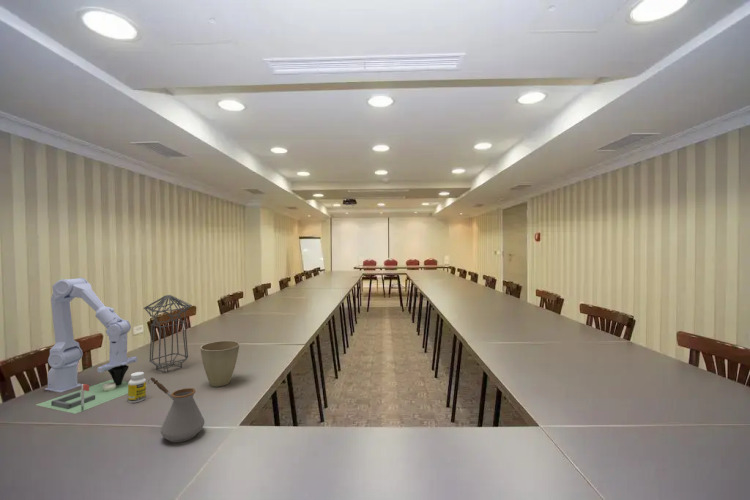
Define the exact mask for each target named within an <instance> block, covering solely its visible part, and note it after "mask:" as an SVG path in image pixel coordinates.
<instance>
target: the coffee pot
mask: <svg viewBox="0 0 750 500" xmlns="http://www.w3.org/2000/svg"><path fill="white" fill-rule="evenodd" d="M150 380H151V382H150ZM147 383H148V384H154V385H156V387H157V388H158V389H159V390H161V391H162V392H163V393H164V394H166V395H167V396H168V397H169V398H170V399H171V400H172V403H171V406H170V408H169V411H168V413H167V415H166V417H165V419H164V421H163V423H162V426H161V428H160V434H161V436H162V437H163V438H164V439H166V441H167V440H168V441H169V442H170V443H181V442H186V441H189V440H192V439H193V438H194V437H196V436H197V434H199V432H201V431H202V429H203V427H204V426H205V419H204V417H203V415H202V412H201V411H200V409H199V407H198V405H197V403H196V400H195V399H194V394H195V393H196V392H197V391H196V389H195V388H194V387H191V388H190V387H189V388H188V387H186V388H182V389H177V390H175V391H173V392H172V393H171V392H170V391H169V390H168V388H166V386H164V385H163V384H162V383H161V382H160V381H159V380H157V379H156V378H155V377H150V378H149V379H148V381H147Z"/></svg>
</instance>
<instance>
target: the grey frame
mask: <svg viewBox="0 0 750 500" xmlns="http://www.w3.org/2000/svg"><path fill="white" fill-rule="evenodd" d="M80 384H81V386H80V387H81V389H80V390H81V399H80V400H78V401H75V402H72V403H66V401H69V400H72V399H75V398H77V397H80V392H77V393H75V394H72V395H69V396H66V397H63V398H60V399H57V400H54V401H51V406H56V407H61V408H65V409H70V408H73V407H76V406H78V405H81V412H83V410H84V403H87V402H89V401H92V400H95V395H92V396H89V397H86V398H84V390H85V391H89V387H90V385H89V384H85V383H80ZM84 411H85V410H84Z"/></svg>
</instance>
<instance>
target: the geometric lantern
mask: <svg viewBox="0 0 750 500" xmlns="http://www.w3.org/2000/svg"><path fill="white" fill-rule="evenodd" d="M154 304H155V305H154ZM152 305H154V306H152ZM173 305H174V307H175V308H174V309H172V306H173ZM192 306H193V305H192V304H191V303H188V302H186V301H184V300H181V299H180V298H177V297H176V296H174V295H171V294H167V295H163V296H162V297H160V298H158V299H157V300H155V301H153V302H151V303H149V304H148V305H146V306H144V307H143V309H144V310H145V311H146V312H147V314H148V315H149V317H152V318H153V319H154V320H152V323H151V324H150V341H149V342H150V343H149V344H150V345H149V347H150V348H149V363H151V364H153V365H154V366H155V370H156V371H158V372H162V373H169V372H172V371H173V372H174V371H175V370H179V369H182V368H183V363H184V362H185V361H187V360H188V358H189V353H188V352H189V351H188V337H187V326H186V325H187V324H186V320H182V317H181V316H180V315H181V314H182V313H184V317H183V318H184V319H186V312H187V310H189V309H190V308H191V307H192ZM166 307H167V308H166ZM156 309H157V310H156ZM161 309H162V310H161ZM174 311H176V312H177V313H176V314H173V312H174ZM179 311H180V312H179ZM154 312H155V313H154ZM169 312H170V313H169ZM159 313H164V314H166V315H168V316H169V319H167V320H164V321H163V320H162V321H158V319H157V318H158V316H159ZM173 317H176V318H175V319H174V318H173ZM178 318H179V319H178ZM170 321H171V324H168V323H169V322H170ZM164 322H166V323H165V324H164V325H163V326H161V323H164ZM174 322H175V323H174ZM178 322H179V323H178ZM156 324H157V325H156ZM167 324H168V325H167ZM178 325H181V329H182V338H183V348H184V354H181V353H180V352H179V335H178V334H179V333H178ZM174 326H175V331H176V332H175V335H176V349H177V353H176V352H175V353H173V352H174V348H173V347H174ZM156 327H158V328H159V339H158V342H159V343H158V356H157V357H155V358H154V350H155V349H154V347H155V333H156V331H155V330H156ZM167 327H171V350H170V351H171V353H169V354H167V349H166V348H167V346H166V344H167V343H166V328H167ZM162 328H163V344H164V345H163V347H164V355H162V356H161V341H162V338H161V336H162ZM174 355H175V357H174V358H173V356H174ZM168 356H170V360H167V357H168ZM178 356H182V357H184V358H183V359H180V360H176V358H177V357H178ZM162 358H164V361H165V362H162V363H161V359H162ZM155 360H158V363H157V362H155ZM176 363H178V364H176ZM172 367H173V368H174V367H177V368H174V369H170V370H169V368H172ZM161 369H164V370H161Z"/></svg>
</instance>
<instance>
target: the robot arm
mask: <svg viewBox="0 0 750 500" xmlns="http://www.w3.org/2000/svg"><path fill="white" fill-rule="evenodd" d="M51 286H52V295H51V298H50V305H51V313H52V323H53V331H54V342H55V344H53V346H52V347H51V348H50V349H49V356H48V359H47V362H48V365H49V366H50V367H51V368H50V369H49V370H48V372H47V387H46V388H45V389H44V390H45V391H51V392H55V393H63V392H66V391H70V390H73V389H75V388H80V387H81V384H82V383H79V382H78V372H79V371H78V365H79V363H80V360H81V359H82V358H83V354H84V353H83V350H82V348H81V347H80V342H78V341H76V340H75V339H74V328H73V321H72V312H71V311H72V310H71V302H72V301H73V300H74V299H75V298H80V299H82V301H84V302H85V303H86V304H87V305H88V306H89V307H90V308H91V309H93V310H94V312H95V317H96V318H97V320H98V321H99V322H100V323H101V324H102V325H103V326H104V327H105V329H106V330H105V333H106V336H108V341H109V359H108V360H109V362H108V363H105V364H103V365H101V366H98V367H97V368H96V369H97V371H96V372H97V373H99V374H100V373H101V374H102V373H104V372H107V371H108V373H109V374H110V376H111V377H112V380H113V381H114V383H116V385H117V386H119V385H121V384H122V381H124V377H125V375H126V373H127V371H128V370H129V368H130V367H129V364H133V363H137V362H138V356H131V357H128V333H129V332H130V330H131V328H132V325H131V324H130V322H129V320H127V319H123V318H122V317H120V315H118V314H117V313H116V311H115V308H113V307H111V306H105V304H104V303H103V301H101V299H100V298H99V296H98V295H97V294H96V293H95V291H94V290H93V288H92V284H91V283H90V282H88V280H87V279H85V278H84V277H78V278H67V279H65V278H63V279H59V280H57V281H56V282H55V283H53V285H51Z"/></svg>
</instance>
